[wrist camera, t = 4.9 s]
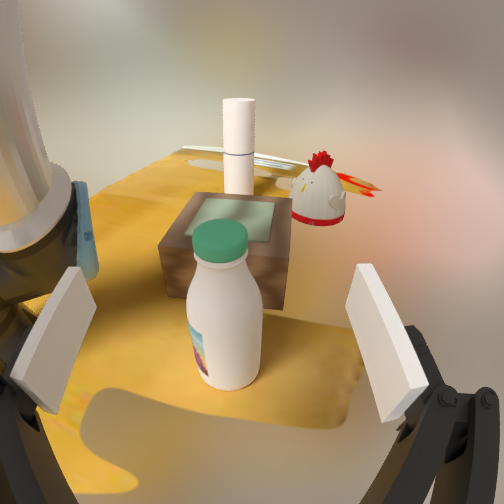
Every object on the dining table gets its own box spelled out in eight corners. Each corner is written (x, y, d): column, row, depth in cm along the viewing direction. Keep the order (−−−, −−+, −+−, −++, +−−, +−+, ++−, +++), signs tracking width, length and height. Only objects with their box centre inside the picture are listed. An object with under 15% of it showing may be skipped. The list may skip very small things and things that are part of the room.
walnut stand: (168, 296, 46) (157, 243, 40) (199, 235, 60) (195, 190, 54) (282, 310, 44) (289, 256, 38) (288, 243, 58) (292, 197, 52)
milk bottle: (265, 349, 38) (275, 214, 26) (251, 399, 32) (255, 267, 20) (210, 337, 39) (194, 204, 28) (190, 383, 33) (155, 250, 22)
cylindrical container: (222, 204, 71) (220, 101, 57) (227, 192, 77) (225, 98, 63) (252, 205, 71) (254, 101, 56) (254, 193, 77) (256, 98, 62)
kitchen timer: (274, 208, 71) (278, 147, 62) (312, 194, 78) (317, 140, 69) (319, 232, 62) (328, 165, 53) (354, 214, 69) (365, 156, 60)
